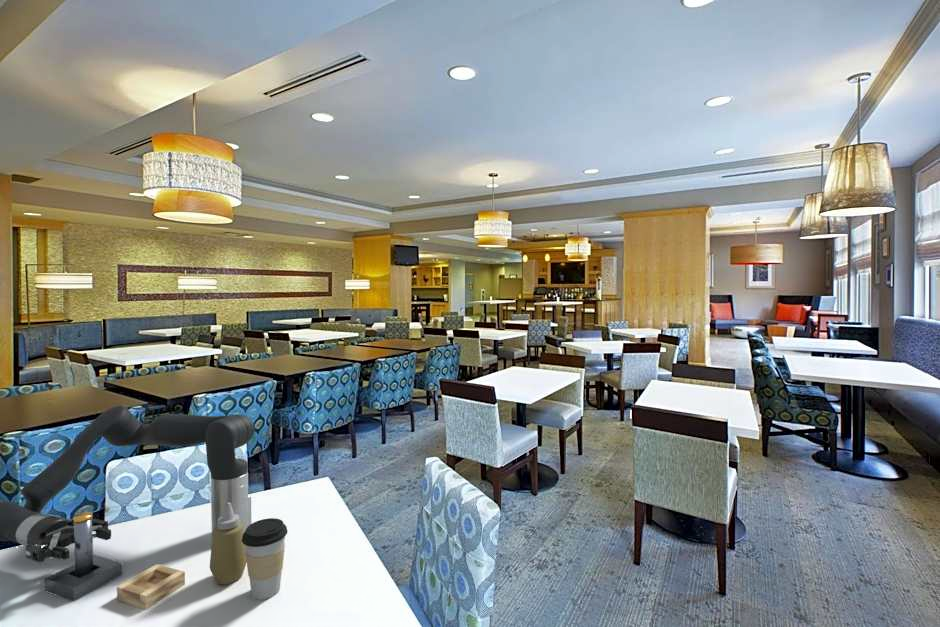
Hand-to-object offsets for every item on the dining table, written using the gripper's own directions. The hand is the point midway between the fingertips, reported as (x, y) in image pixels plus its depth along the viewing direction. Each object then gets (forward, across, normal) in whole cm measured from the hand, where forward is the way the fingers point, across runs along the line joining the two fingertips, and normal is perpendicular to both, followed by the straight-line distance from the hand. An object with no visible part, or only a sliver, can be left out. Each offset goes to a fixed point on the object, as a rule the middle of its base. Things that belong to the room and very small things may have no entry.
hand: (89, 544), depth 104 cm
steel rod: (-2, 0, -10) cm, 10 cm away
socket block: (-2, 0, -10) cm, 10 cm away
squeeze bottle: (+28, -13, -10) cm, 32 cm away
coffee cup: (+40, -12, -10) cm, 43 cm away
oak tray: (+16, -3, -10) cm, 19 cm away
